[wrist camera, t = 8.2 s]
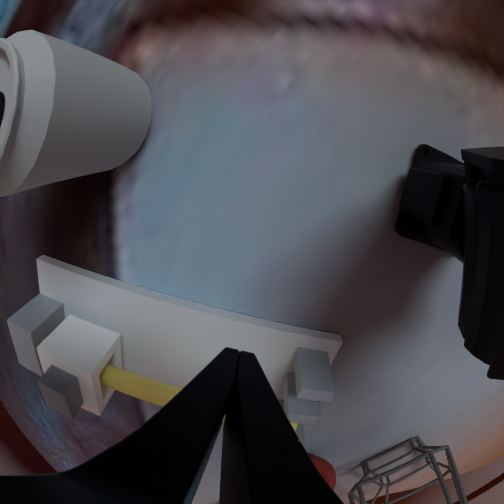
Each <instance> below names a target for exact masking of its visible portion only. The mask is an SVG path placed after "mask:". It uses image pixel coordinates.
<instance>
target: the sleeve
mask: <svg viewBox="0 0 504 504" xmlns="http://www.w3.org/2000/svg"><path fill="white" fill-rule="evenodd" d="M37 352H38V355H39V359H40V362H41V366H42V369H43V372H44V374H43V376H42V377H41V378H40V379H39V380H38V383H39V386H40V388H41V391H42V394H43V396H44V399H45V401H46V404H47V406H48V407H49V408H51V409H53V410H55V411H56V412H58V413H60V414H62V415H64V416H66V417H68V418H70V419H72V420H73V419H74V417H75V416H76V414H77V413H78V411H79V409H80V408H83V409H85V410H87V411H90V412H92V413H94V414H96V415H98V416H100V415H101V413H102V412H103V410H104V408H105V406H106V404H107V403H108V401H109V399H110V397H111V396H112V394H113V392H114V389H112V388H109V387H107V386H104V385H102V384H100V379H99V374H100V373H101V371H102V370H103V368H104V367H105V366H106V364H110V365H112V366H115V367H118V368H120V369H122V359H121V336H120V334H119V333H116V332H114V331H111V330H108V329H106V328H103V327H100V326H98V325H95V324H92V323H90V322H87V321H85V320H82V319H80V318H77V317H75V316H73V315H69V316H68V317H67V318H66V319H65V320H64V321H63V322H62V323H61V324H60V325H59V326H58V327H57V328H56V329H55V330H54V331H53V332H52V333H51V334H50V335H49V336H48V337H47V338H46V339H45V340H44V341H43V342H42V343H41V344H40V345H39V346H38V347H37Z"/></svg>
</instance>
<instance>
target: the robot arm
mask: <svg viewBox="0 0 504 504" xmlns="http://www.w3.org/2000/svg"><path fill="white" fill-rule="evenodd" d="M424 148H425V150H426V154H425V155H424V154H423V149H424ZM461 154H462V160H464V163H462V162H460V161H458V160H457V159H455V158H453V157H451V156H449V155H447V154H445V153H443V152H441V151H439V150H437V149H435V148H433V147H431V146H429V145H426V144H421V145H419V146H418V148H417V151H416V155H415V159H414V163H413V167H412V168H411V169H410V170H409V173H408V177H407V181H406V184H405V188H404V191H403V194H402V198H401V201H400V205H401V209H400V212H399V215H398V218H397V221H396V224H395V231H396V233H397V234H399V235H400V236H403V237H406V238H409V239H412V240H415V241H418V242H421V243H424V244H427V245H430V246H433V247H436V248H438V249H441V250H444V251H447V252H448V253H450V254H451V255H453V256H454V257H455V258H457V259H458V260H459V261H461V262H462V263H463V278H462V289H461V299H460V307H459V316H458V326H459V329H460V331H461V334H462V336H463V338H464V339H465V341H464V346H465V348H466V349H467V350H468V351H469V352H470V353H471V354H472V355H473V356H475V357H476V358H478V359H479V360H481V361H482V362H484V363H485V364H488V365H490V367H489V370H488V372H487V377H488V378H490V379H499V380H504V147H486V148H472V149H461ZM403 225H404V229H403V230H402V231H400V227H401V226H403ZM224 416H225V417H224ZM223 419H224V426H223V443H222V461H221V480H220V500H219V504H344V503H343V502H342V501H341V500H340V498H339V497H338V496H337V495H336V493H335V492H334V491H333V490H332V488H331V487H330V486H329V485H328V483H327V482H326V481H325V479H324V478H323V477H322V475H321V474H320V472H319V471H318V470H317V468H316V467H315V465H314V464H313V462H312V460H311V459H310V457H309V455H308V454H307V452H306V450H305V449H304V447H303V445H302V443H301V441H298V440H299V438H298V436H297V434H296V432H295V431H294V429H293V427H292V425H291V423H290V421H289V419H288V418H287V416H286V414H285V412H284V410H283V408H282V406H281V404H280V402H279V401H278V399H277V397H276V395H275V393H274V391H273V389H272V387H271V385H270V383H269V381H268V379H267V377H266V375H265V373H264V371H263V369H262V367H261V365H260V364H259V362H258V360H257V358H256V356H255V354H254V353H251V352H247V351H240V353H239V350H238V349H234V348H229V347H225V348H224V349H223V350H222V351H221V352H220V353H219V354H218V355H217V356H216V357H215V358H214V359H213V360H212V361H211V362H210V363H209V364H208V365H207V366H206V367H205V368H203V369H202V370H201V371H200V372H199V373H198V374H197V375H196V376H195V377H194V378H193V379H192V380H191V381H190V382H189V383H188V384H187V385H186V386H185V387H184V388H183V389H181V390H180V391H179V392H178V393H177V394H176V395H175V396H174V397H173V398H172V399H171V400H170V401H169V402H168V403H166V404H165V405H164V406H163V407H162V408H161V409H160V410H159V412H156V413H155V414H154V415H153V416H152V417H151V418H150V419H149V420H148V421H146V422H145V423H144V424H143V425H142V426H140V427H139V428H138V429H137V430H135V431H134V432H133V433H131V434H130V435H128V436H127V437H125V438H124V439H122V440H121V441H119V442H118V443H116V444H115V445H113V446H111V447H110V448H108V449H106V450H105V451H103V452H101V453H100V454H98V455H96V456H95V457H93V458H91V459H90V460H88V461H86V462H84V463H83V464H81V465H79V466H77V467H75V468H72V469H70V470H67V471H63V472H59V473H52V474H40V475H20V476H0V504H191V503H192V501H193V498H194V496H195V493H196V491H197V488H198V486H199V483H200V481H201V478H202V476H203V473H204V470H205V468H206V465H207V463H208V460H209V457H210V455H211V452H212V449H213V447H214V444H215V441H216V439H217V436H218V433H219V431H220V428H221V425H222V422H223Z"/></svg>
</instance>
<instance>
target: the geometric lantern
mask: <svg viewBox="0 0 504 504" xmlns="http://www.w3.org/2000/svg"><path fill="white" fill-rule="evenodd" d="M414 440H417V442H418V445H419V447H416V448H415V446H414V444H413V441H414ZM408 442H410V444H411V447H412V449H413V450H412V451H410V452H408V453H406V454H404V455H402V456H400V457H398V458H396V459H395V460H393V461H390V462H388V463H386V464H384V465H382V466H380V467H378V468H376V469H373V470H371V469H369V466H368V463H367V462H369V461H371V460H374V459H376V458H378V457H380V456H382V455H385V454H387V453H389V452H391V451H393V450H395V449H397V448H399V447H401V446H403V445H405V444H407V443H408ZM428 449H433V450H430V451H429V450H428ZM425 450H426V451H425ZM442 450H445V451H446V456H447V460H448V464H449V466H447V465H444V464H442V463H439V462H436V459H435V457H434V455H433V453H436V452H439V451H442ZM415 451H418V452H421V453H424V454H422V455H420V456H418V457H416V458H414V459H412V460H410V461H408V462H406V463H404V464H402V465H400V466H397V467H395V468H393V469H391V470H388V471H386V472H384V473H381V474H379V475H378V474H377V473H375V471H377V470H379V469H381V468H384V467H386V466H388V465H390V464H392V463H394V462H396V461H398V460H400V459H402V458H404V457H406V456H408V455H409V454H411V453H413V452H415ZM423 458H425V459H426V462H427V464H426V465H424V466H423V467H421V468H419V469H417V470H415V471H414V472H412V473H410V474H408V475H406V476H404V477H403V478H401V479H399V480H397V481H395V482H393V483H391V484H390V480H389V477H388V475H390V474H393V473H395V472H397V471H399V470H401V469H403V468H405V467H407V466H409V465H411V464H413V463H415V462H417V461H419V460H421V459H423ZM428 459H429V460H430V462H429V460H428ZM431 463H432V464H431ZM428 465H429V466H430V467H431V468H432V469H433V470H434V471H435V472H436V474H437V477H438V478H436V479H435V480H433V481H431V482H429V483H427V484H425V485H423V486H421V487H419V488H417V489H415V490H413V491H411V492H409V493H407V494H405V495H403V496H401V497H398V498H396V499H394V500H391V501H389V502H388V494H389V486H391V485H393V484H395V483H397V482H399V481H401V480H403V479H405V478H407V477H409V476H411V475H413V474H414V473H416V472H418V471H420V470H421V469H423V468H425V467H427V466H428ZM432 465H433V466H432ZM438 465H440V466H442V467H445V468H447V469H449V470H447V471H446V472H445V473H444V474H443V475H442V474H441V471H440V469H439V466H438ZM362 467H363V472H364V476H363V478H362V479H361V480H360V481H359V482H358V483H356V484H355V485H354V486H353V488H352V489H351V490H350V492H349V493H348V497H349V500H350V504H355V502H354V499H355V500H356V501H358V502H360V503H361V504H368V503H367V502H366V501H365V498H364V494H363V491H362V487H361V485H364V484H366V483H369V482H373V483H375V484H377V485H379V486H381V488H380V489H379V491H378V493H377V494H376V496H375V498H374V499H373V501H372V502H371V504H373V503H374V502H375V500H376V498H377V497H378V495H379V494H380V492H381V490H382V489H383V487H387V488H386V502H385V503H384V504H391V503H394V502H396V501H399V500H401V499H403V498H405V497H407V496H410V495H412V494H414V493H416V492H418V491H420V490H422V489H424V488H426V487H428V486H429V485H431V484H433V483H435V482H437V481H439V482H440V485H441V487H442V490H443V493H444V495H445V498H446V501H447V504H453V502H452V500H451V497H450V494H449V492H448V489H447V486H446V484H445V481H444V479H443V477H445V476H446V475H447V474H448V473H450V472H451V475H452V478H453V481H454V485H455V488H456V492H457V495H458V499H459V502H460V504H468V503H467V499H466V496H465V493H464V490H463V486H462V483H461V480H460V476H459V473H458V470H457V467H456V464H455V462H454V459H453V456H452V453H451V451H450V448H449V446H448V445H445V446H425V444H424V443H423V442H422V440H421V439H420V438H419V437H415V438H411V439H408V440H407V441H405V442H403V443H401V444H399V445H397V446H395V447H393V448H391V449H389V450H387V451H385V452H383V453H381V454H379V455H377V456H374V457H372V458H370V459H368V460H365V461H363V464H362ZM366 470H367V473H366ZM370 473H372V474H374V475H375V476H374V477H371V478H370V477H368V475H369V474H370ZM384 476H386V479H387V483H388V484H387V485H384V484H383V480H382V477H384ZM379 478H380V482H381V483H379V482H377V481H375V480H377V479H379ZM365 479H366V480H365ZM356 490H358V494H359V497H357V496H356V495H354V494H353V493H354V492H355V491H356Z"/></svg>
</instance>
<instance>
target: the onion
mask: <svg viewBox="0 0 504 504" xmlns="http://www.w3.org/2000/svg"><path fill="white" fill-rule="evenodd" d="M308 455H309V457H310V459H311V460H312V462H313V464H314V465H315V467H316V468H317V470H318V471H319V472H320V474H321V475H322V477H323V478H324V479H325V481H326V482H327V483H328V485H329V486H330V487H331V488H332V490H333V489H334V487H335V484H336V474H335V471H334V468H333V466H332V465H331V464H330V463H329V462H327V461H326V460H324V459H322V458H319V457H316V456H314V455H313V454H308Z"/></svg>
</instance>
